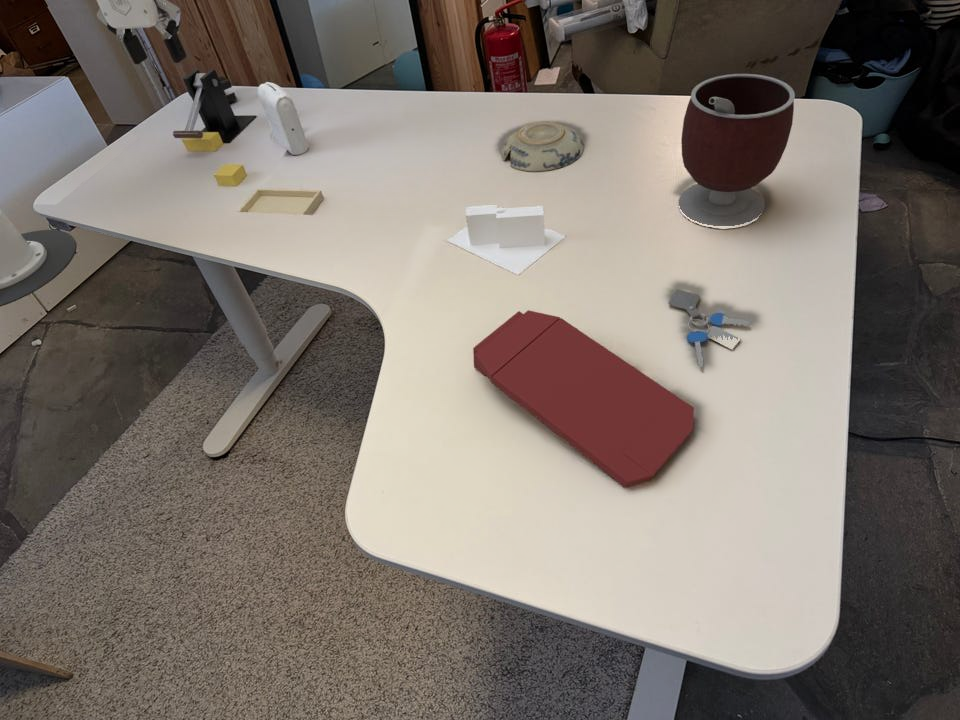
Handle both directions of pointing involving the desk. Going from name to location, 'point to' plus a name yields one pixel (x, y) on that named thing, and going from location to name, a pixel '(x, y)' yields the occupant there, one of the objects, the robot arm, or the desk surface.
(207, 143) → the butter
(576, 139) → the decorative bowl
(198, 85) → the grey and brown t-shape
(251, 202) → the beige square tray
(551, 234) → the napkin holder
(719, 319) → the key chain
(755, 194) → the mate gourd
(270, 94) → the photo printer
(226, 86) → the end cap
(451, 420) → the desk surface
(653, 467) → the dark red case
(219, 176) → the butter pat
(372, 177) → the desk surface
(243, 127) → the black stand
